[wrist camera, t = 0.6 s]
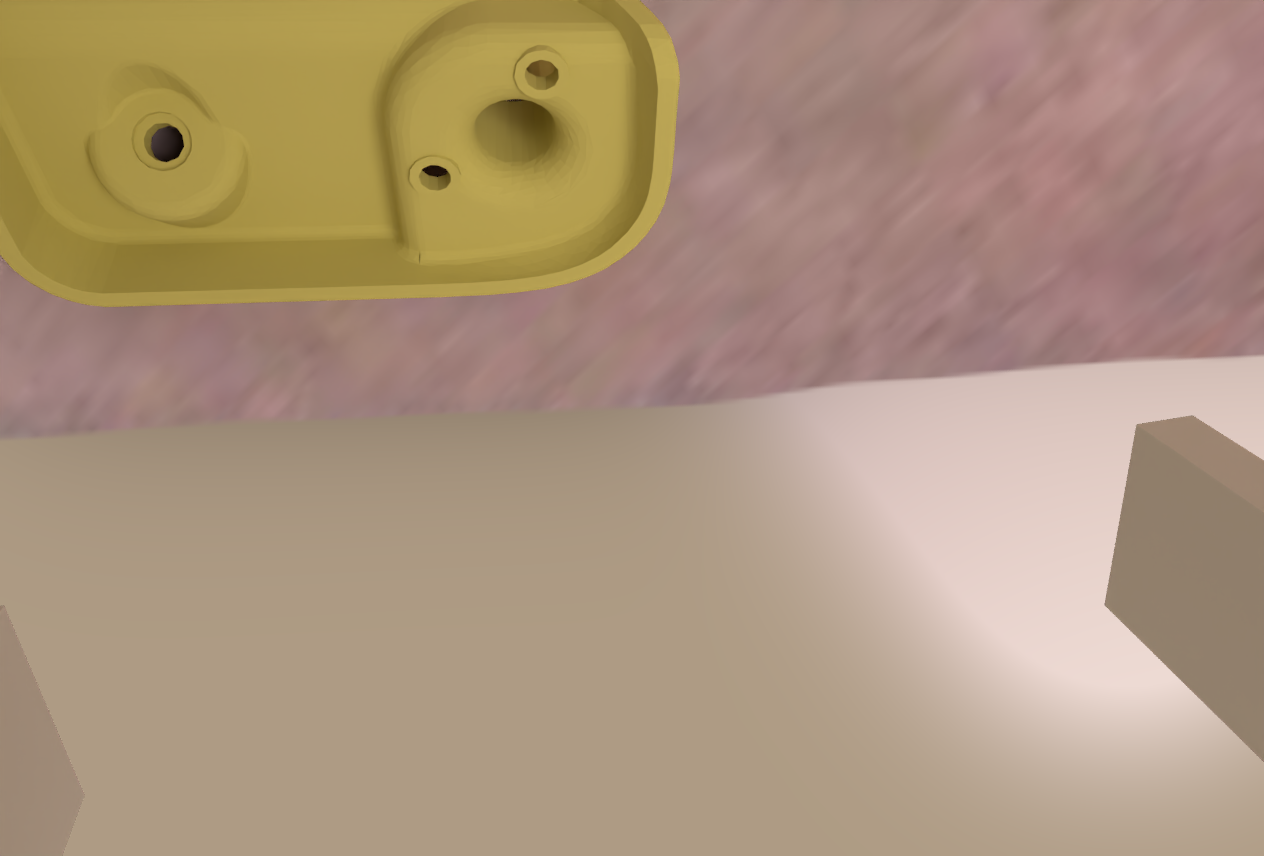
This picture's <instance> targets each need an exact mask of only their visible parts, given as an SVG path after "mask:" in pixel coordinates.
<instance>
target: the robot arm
mask: <svg viewBox="0 0 1264 856" xmlns="http://www.w3.org/2000/svg"><path fill="white" fill-rule="evenodd" d="M1105 606H1106V607H1107V608H1108V609H1109V610H1110V611H1111V612H1112V613H1113V614H1114V615H1115V616H1116V617H1117V618H1118V619H1119V620H1121V622H1122V623H1123V624H1124V625H1125V626H1126V627H1127V628H1129V630H1130V631H1132V632H1133V634H1135V635H1136V636H1137V637H1138V638H1139V639H1140V640H1141V641H1142V642H1143V643H1144V644H1145V645H1146V646H1147V647H1148V648H1149V649H1150V650H1151V651H1152V652H1153V653H1154V654H1155V655H1156V656H1157V657H1158V658H1159V659H1160V660H1161V661H1162V662H1163V663H1164V664H1165V665H1166V666H1167V667H1168V668H1169V669H1170V670H1171V671H1172V672H1173V673H1174V674H1175V675H1176V676H1177V677H1178V678H1179V679H1180V680H1181V681H1182V682H1183V683H1184V684H1185V685H1186V686H1187V687H1188V688H1189V689H1190V690H1191V691H1192V692H1194V694H1195V695H1197V697H1198V698H1200V699H1201V700H1202V701H1203V702H1204V703H1205V704H1206V705H1207V706H1208V707H1209V708H1210V709H1211V710H1212V711H1213V712H1214V713H1215V714H1216V715H1217V716H1218V717H1219V718H1220V719H1221V720H1222V721H1223V722H1224V723H1225V724H1226V725H1227V726H1228V727H1229V728H1230V729H1231V730H1232V731H1233V732H1234V733H1235V734H1236V735H1237V736H1238V737H1239V738H1240V739H1241V740H1242V741H1243V742H1244V743H1245V744H1246V745H1247V746H1248V747H1249V748H1250V749H1251V750H1252V751H1253V752H1254V753H1255V754H1256V755H1257V756H1258V757H1259V758H1260V759H1261V760H1262V761H1263V762H1264V460H1262V459H1260V458H1259V457H1257V456H1256V455H1254V454H1252V453H1251V452H1249V451H1248V450H1246V449H1244V448H1243V447H1241V446H1240V445H1238V444H1237V443H1235V442H1233V441H1232V440H1230V439H1229V438H1227V437H1226V436H1224V435H1223V434H1221V433H1219V432H1218V431H1216V430H1214V429H1213V428H1211V427H1210V426H1208V425H1207V424H1205V423H1204V422H1202V421H1200V420H1199V419H1197V418H1196V417H1194V416H1186V417H1180V418H1173V419H1167V420H1161V421H1155V422H1148V423H1142V424H1137V426H1136V431H1135V437H1134V442H1133V448H1132V453H1131V459H1130V465H1129V470H1128V476H1127V481H1126V487H1125V493H1124V498H1123V504H1122V510H1121V515H1120V521H1119V526H1118V532H1117V538H1116V543H1115V549H1114V555H1113V560H1112V566H1111V572H1110V578H1109V583H1108V588H1107V594H1106V600H1105ZM83 798H84V792H83V790H82V788H81V785H80V783H79V781H78V778H77V776H76V774H75V771H74V769H73V767H72V764H71V762H70V759H69V757H68V755H67V752H66V750H65V748H64V745H63V743H62V741H61V738H60V736H59V734H58V731H57V729H56V727H55V724H54V722H53V719H52V717H51V715H50V712H49V710H48V708H47V706H46V703H45V701H44V699H43V696H42V694H41V691H40V689H39V687H38V684H37V682H36V679H35V677H34V675H33V672H32V670H31V668H30V665H29V663H28V661H27V658H26V656H25V654H24V651H23V649H22V647H21V644H20V642H19V639H18V637H17V635H16V632H15V630H14V628H13V625H12V623H11V621H10V619H9V616H8V614H7V611H6V609H5V606H4V605H3V606H0V856H63V853H64V850H65V847H66V845H67V842H68V839H69V836H70V834H71V831H72V828H73V825H74V823H75V820H76V817H77V814H78V812H79V809H80V806H81V804H82V801H83Z"/></svg>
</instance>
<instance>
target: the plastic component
mask: <svg viewBox="0 0 1264 856" xmlns="http://www.w3.org/2000/svg"><path fill="white" fill-rule="evenodd" d="M679 82H680V76H679V66H678V60H677V57H676V53H675V50H674V46H673V43H672V39H671V38H670V36H669V34H668V32H667V31H666V29H665V27H664V25H663V24H662V23H661V22H660V21H659V20H658V19H657V18H656V16H655V15H654V14H653V13H652V12H651V11H650V10H649V9H648V8H647V7H646V6H645V5H644V4H643V3H642V2H641V1H640V0H0V255H1V256H2V257H3V258H4V260H5V261H6V262H7V263H8V264H9V265H10V267H11V268H12V269H13V270H14V271H16V272H17V273H18V274H20V275H21V276H22V277H23V278H25V279H26V280H27V281H29V282H30V283H32V284H33V285H35V286H37V287H39V288H41V289H43V290H45V291H46V292H48V293H50V294H53V295H55V296H58V297H61V298H64V299H66V300H69V301H73V302H77V303H81V304H86V305H94V306H103V307H121V306H155V305H189V304H223V303H257V302H291V301H325V300H359V299H393V298H427V297H453V296H474V295H493V294H504V293H516V292H524V291H531V290H539V289H546V288H550V287H555V286H559V285H563V284H568V283H571V282H574V281H577V280H580V279H583V278H586V277H588V276H591V275H593V274H595V273H597V272H599V271H601V270H604V269H605V268H607V267H609V266H610V265H612V264H613V263H615V262H616V261H618V260H620V259H621V258H622V257H624V256H625V255H626V254H627V253H628V252H630V251H631V250H632V249H633V248H634V247H635V246H636V245H637V244H638V243H639V242H640V241H641V240H642V239H643V238H644V237H645V236H646V234H647V233H648V232H649V230H650V229H651V227H652V226H653V225H654V223H655V222H656V220H657V218H658V216H659V214H660V212H661V210H662V208H663V205H664V203H665V200H666V196H667V192H668V189H669V185H670V180H671V174H672V165H673V155H674V142H675V128H676V115H677V104H678V93H679ZM510 99H522V100H523V101H511V102H508V101H504V100H510ZM166 126H171V127H174V128H177V129H178V130H179V132H180V133H181V134H182V136H183V142H184V148H183V150H182V152H181V153H180V155H179V157H178V158H176V159H174V160H171V161H169V162H162V161H160V160H158V159H157V158H155V156H154V154H153V151H152V149H151V140H152V136H153V135H154V134H155V133H156V131H157V130H158V129H161V128H163V127H166ZM429 165H439V166H441V167H443V168H445V169H447V171H448V173H447V174H446V175H443V176H440V177H434V176H429V175H427V174H426V173H425V172H423V171H422V169H423V168H425V167H427V166H429Z"/></svg>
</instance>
